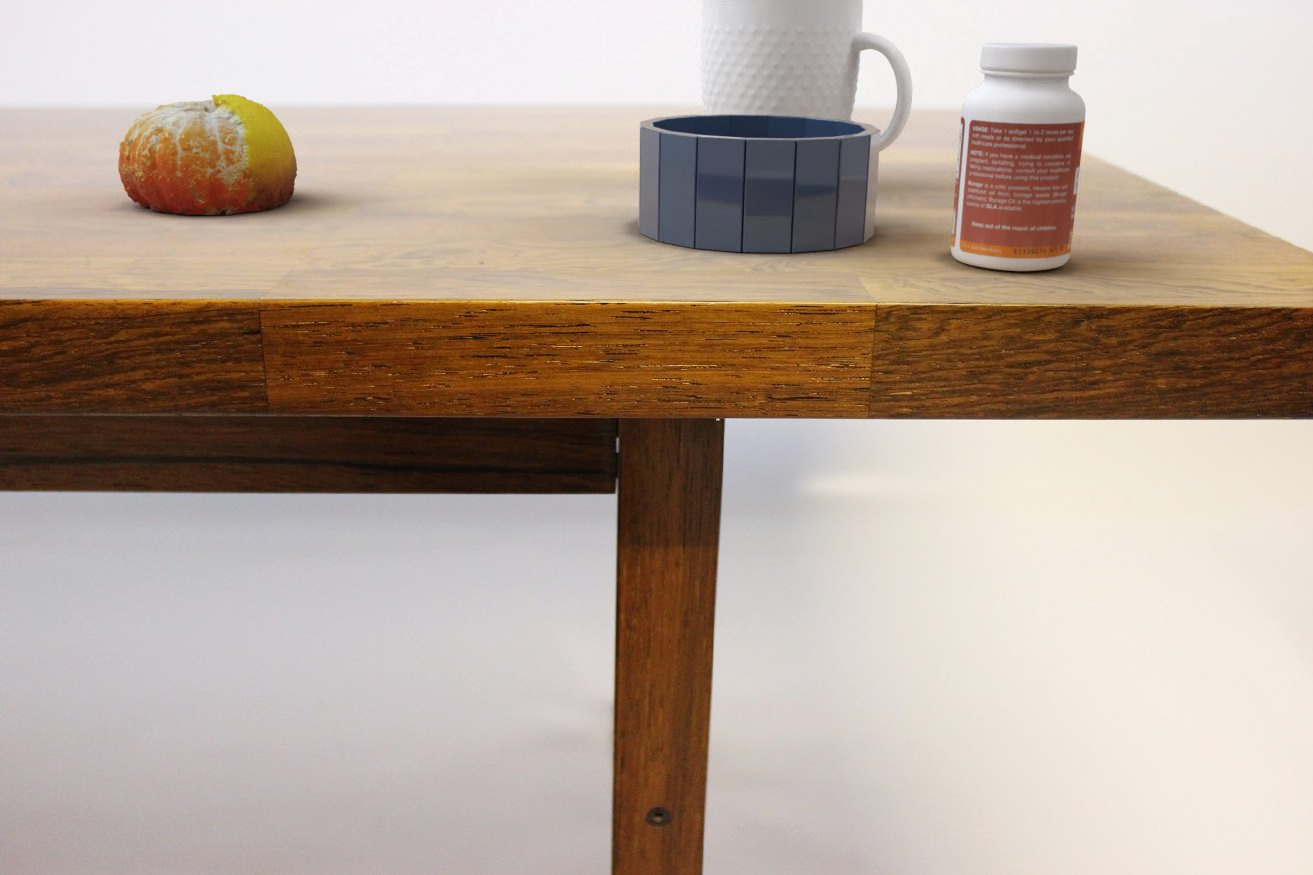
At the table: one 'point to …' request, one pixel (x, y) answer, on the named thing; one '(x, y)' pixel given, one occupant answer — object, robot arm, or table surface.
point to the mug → (792, 59)
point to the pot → (757, 182)
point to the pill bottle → (1019, 159)
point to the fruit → (208, 158)
